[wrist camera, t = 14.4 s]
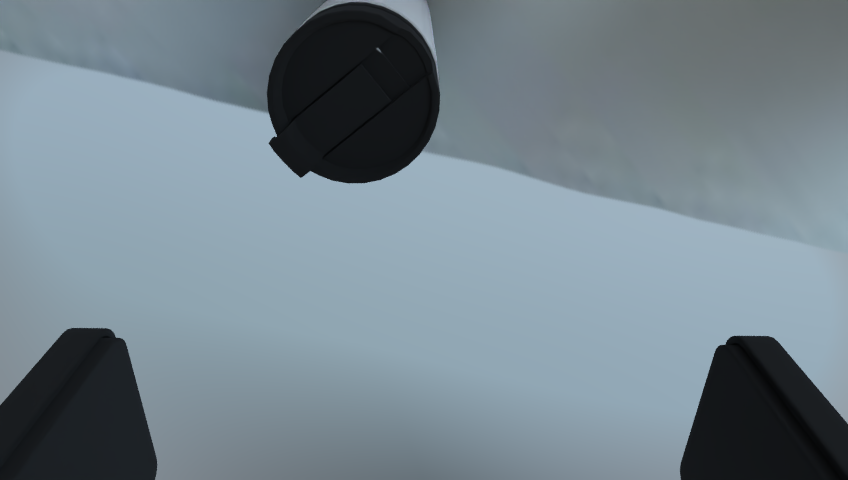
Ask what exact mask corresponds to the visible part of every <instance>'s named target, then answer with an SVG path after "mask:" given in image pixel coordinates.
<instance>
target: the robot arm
mask: <svg viewBox="0 0 848 480" xmlns="http://www.w3.org/2000/svg"><path fill="white" fill-rule="evenodd" d="M156 471H157V459H156V455H155V451H154V447H153V443H152V440H151V436H150V432H149V429H148V425H147V421H146V417H145V413H144V409H143V406H142V402H141V398H140V394H139V391H138V387H137V383H136V379H135V376H134V372H133V368H132V364H131V361H130V357H129V353H128V349H127V346H126V343H125V341H124V340H123V339H121V338H116V337H115V335H114V333H113V332H112V331H111V330H110V329H106V328H105V329H103V328H101V329H100V328H71V329H68V330H66V331H65V332H64V333H63V334H62V335H61V336H60V337H59V338H58V340H57V341H56V342H55V343H54V344H53V345H52V347H51V348H50V349H49V350H48V351H47V352H46V353H45V354H44V356H43V357H42V358H41V359H40V360H39V362H38V363H37V364H36V365H35V366H34V367H33V368H32V370H31V371H30V372H29V373H28V374H27V375H26V376H25V378H24V379H23V380H22V381H21V382H20V383H19V384H18V386H17V387H16V388H15V389H14V390H13V391H12V393H11V394H10V395H9V396H8V397H7V398H6V399H5V401H4V402H3V403H2V404H1V405H0V480H155V477H156ZM680 475H681V480H848V424H847V423H846V421H845V420H844V419H843V418H842V417H841V416H840V414H839V413H838V412H837V411H836V410H835V408H834V407H833V406H832V405H831V404H830V403H829V401H828V400H827V399H826V398H825V397H824V396H823V394H822V393H821V392H820V391H819V390H818V389H817V387H816V386H815V385H814V384H813V382H812V381H811V380H810V379H809V378H808V377H807V375H806V374H805V373H804V372H803V371H802V370H801V368H800V367H799V366H798V365H797V364H796V363H795V361H794V360H793V359H792V358H791V357H790V355H789V354H788V353H787V352H786V351H785V350H784V348H783V347H782V346H781V345H780V344H779V343H778V341H776V340H775V339H774V338H772V337H769V336H733V337H730V338H729V339H728V340H727V342H726V345H720V346H718V348H717V349H716V351H715V353H714V357H713V360H712V364H711V366H710V370H709V373H708V377H707V380H706V383H705V386H704V389H703V393H702V396H701V399H700V402H699V406H698V409H697V412H696V416H695V419H694V422H693V426H692V429H691V432H690V435H689V438H688V442H687V445H686V448H685V452H684V455H683V458H682V462H681V466H680Z"/></svg>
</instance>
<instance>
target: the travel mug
mask: <svg viewBox="0 0 848 480" xmlns="http://www.w3.org/2000/svg"><path fill="white" fill-rule="evenodd" d="M267 99H268V111H269V114H270V118H271V121H272V124H273V127H274V129H275V132H276V134H277V137H273V138H272V139H271V141H270V142H269V144H270V146H271V147H272V149H273V150H274V152H275V153H276V154H277V155H278V156H279V157H280V158H281V159H282V161H283V162H284V163H285V164H286V165H287V166H288V167H289V168H290V169H291V170H292V171H293V172H294V173H296V174H297V175H298V176H299V177H303V176H304V175H305V174H307V173H308V172H309V171H312V172H314V173H316V174H318V175H320V176H322V177H325V178H327V179H330V180H333V181H339V182H344V183H367V182H371V181H377V180H381V179H383V178H386V177H388V176H391V175H393V174H395V173H397V172H398V171H400V170H402V169H403V168H405V167H406V166H408V165H409V164H410V163H411V162H412V161H413V160H414V159H415V158H416V157H417V156H418V155H419V154H420V153H421V152H422V150H423V149H424V147H425V146H426V145H427V143H428V142H429V140H430V138H431V135H432V133H433V131H434V129H435V126H436V122H437V118H438V114H439V105H440V91H439V72H438V65H437V58H436V51H435V44H434V37H433V29H432V22H431V15H430V9H429V6H428V3H427V0H327V1H326V2H325V3H324V4H322V5H321V6H320V7H319V8H318V9H317V10H316V11H315V12H314V13H313V14H312V15H310V17H308V18H307V19H306V20H305V21H304V22H303V24H302V25H301V26H300V27H299V28H298V29H297V30H296V32H295V33H294V34H293V35H292V36H291V37H290V38H289V39H288V40H287V41H286V42H285V43H284V45H283V46H282V48H281V50H280V51H279V53H278V55H277V57H276V58H275V60H274V63H273V66H272V69H271V72H270V75H269V82H268V89H267Z"/></svg>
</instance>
